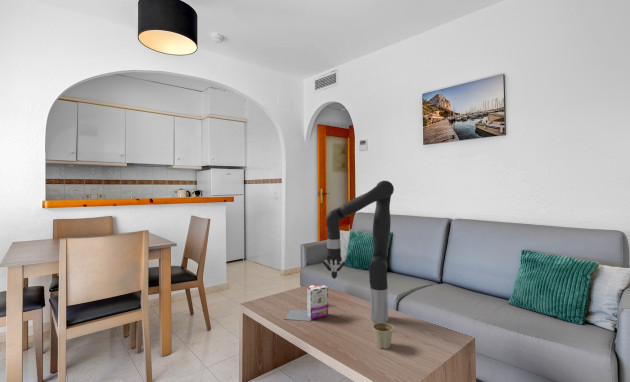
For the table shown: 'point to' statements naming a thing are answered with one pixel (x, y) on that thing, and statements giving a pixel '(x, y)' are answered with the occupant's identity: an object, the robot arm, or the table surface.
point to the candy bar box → (317, 302)
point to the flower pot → (383, 334)
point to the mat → (298, 315)
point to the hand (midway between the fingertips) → (334, 278)
